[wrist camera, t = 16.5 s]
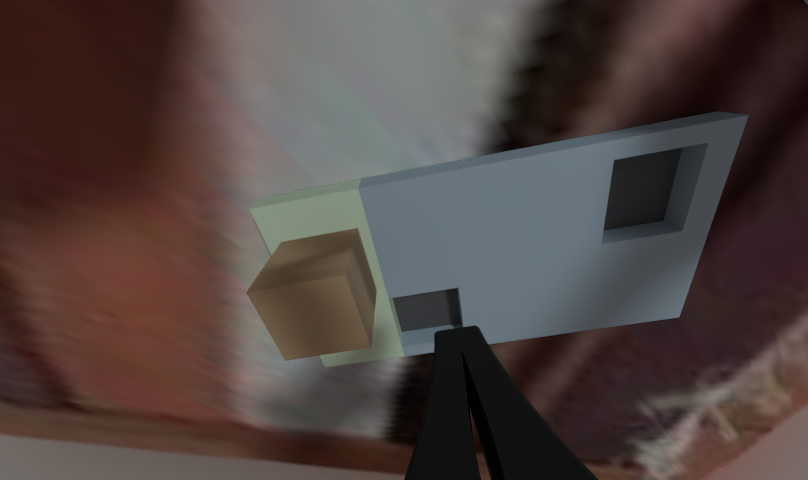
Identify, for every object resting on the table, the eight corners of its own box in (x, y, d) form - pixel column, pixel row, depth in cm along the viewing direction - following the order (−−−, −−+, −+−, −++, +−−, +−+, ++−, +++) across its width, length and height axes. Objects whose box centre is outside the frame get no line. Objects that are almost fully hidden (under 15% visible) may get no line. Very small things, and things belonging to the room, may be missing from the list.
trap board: (717, 111, 16) (748, 115, 14) (661, 301, 22) (679, 317, 20) (261, 198, 18) (249, 209, 16) (329, 350, 24) (325, 367, 22)
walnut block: (357, 227, 17) (345, 275, 13) (376, 290, 19) (371, 347, 15) (281, 242, 17) (246, 292, 13) (308, 301, 19) (285, 360, 15)
